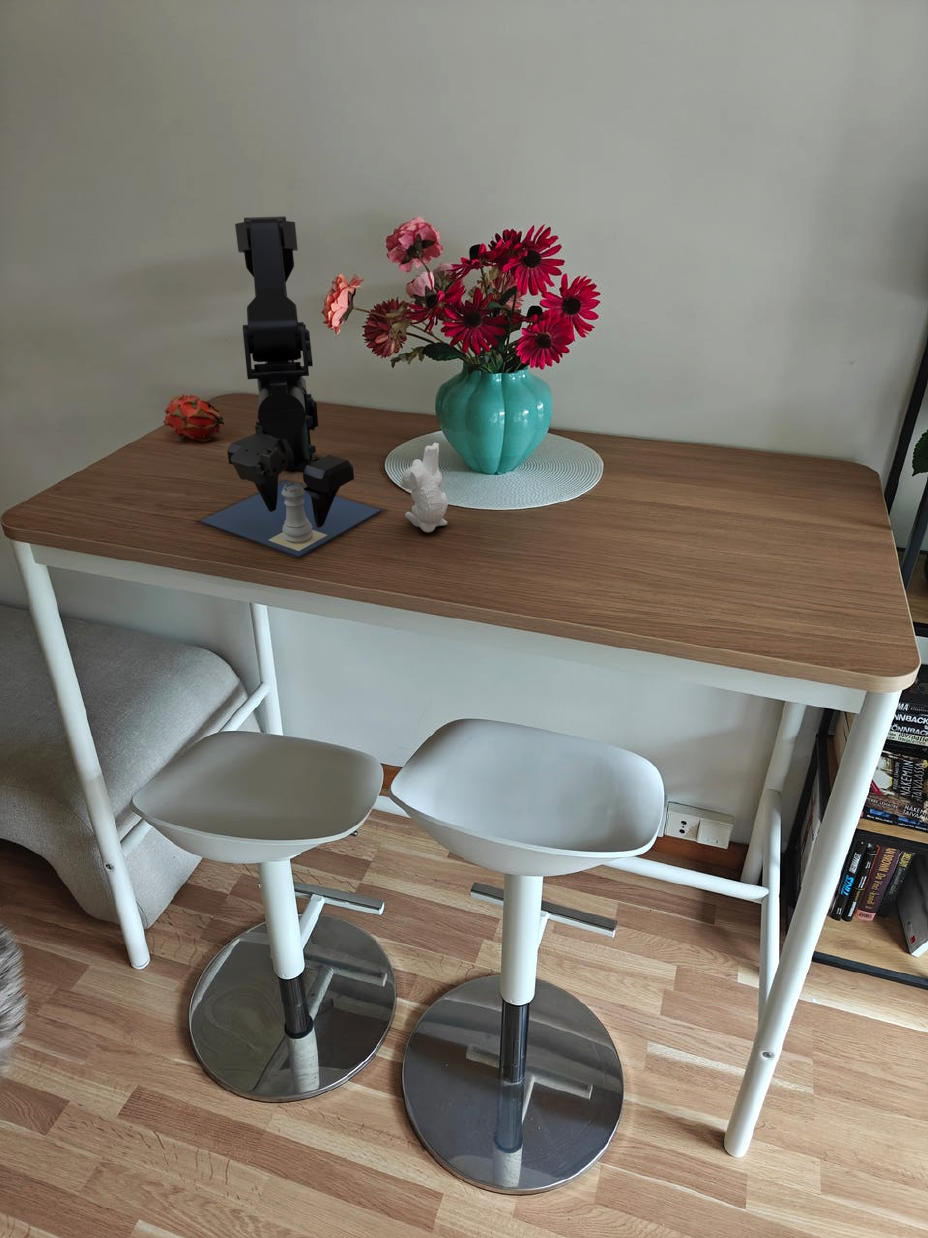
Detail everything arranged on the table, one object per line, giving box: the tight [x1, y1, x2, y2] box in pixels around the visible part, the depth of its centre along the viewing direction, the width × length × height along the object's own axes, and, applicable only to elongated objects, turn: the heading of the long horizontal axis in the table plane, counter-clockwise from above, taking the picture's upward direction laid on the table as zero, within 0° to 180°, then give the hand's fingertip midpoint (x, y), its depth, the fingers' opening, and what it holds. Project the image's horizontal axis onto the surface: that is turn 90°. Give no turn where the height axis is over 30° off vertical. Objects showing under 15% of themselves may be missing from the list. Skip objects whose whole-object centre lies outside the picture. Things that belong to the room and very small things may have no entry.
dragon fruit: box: [162, 393, 225, 442], centre depth 160 cm, size 8×8×12 cm
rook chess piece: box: [281, 481, 313, 543], centre depth 125 cm, size 4×4×8 cm
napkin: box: [200, 480, 382, 558], centre depth 133 cm, size 18×20×1 cm
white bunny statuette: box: [399, 442, 449, 533], centre depth 127 cm, size 8×7×12 cm
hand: (295, 518), depth 125 cm, fingers open, 9 cm apart
